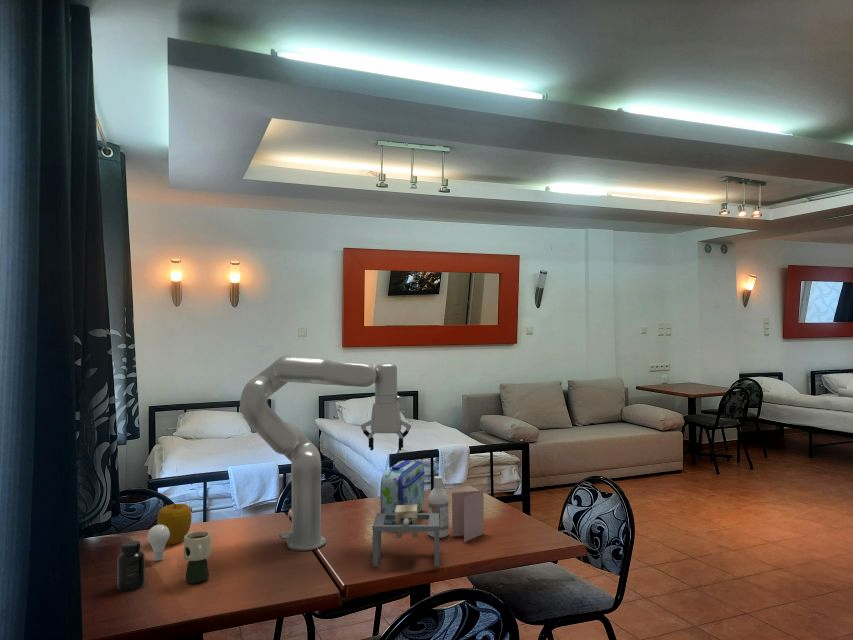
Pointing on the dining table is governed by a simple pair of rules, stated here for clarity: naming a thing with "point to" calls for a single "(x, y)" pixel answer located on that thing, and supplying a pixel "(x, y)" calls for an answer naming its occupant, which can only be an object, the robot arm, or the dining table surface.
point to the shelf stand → (380, 527)
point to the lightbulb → (158, 540)
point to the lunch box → (402, 487)
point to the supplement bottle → (130, 567)
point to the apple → (175, 521)
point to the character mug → (197, 555)
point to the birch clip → (406, 512)
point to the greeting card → (468, 514)
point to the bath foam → (439, 507)
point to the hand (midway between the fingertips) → (385, 449)
